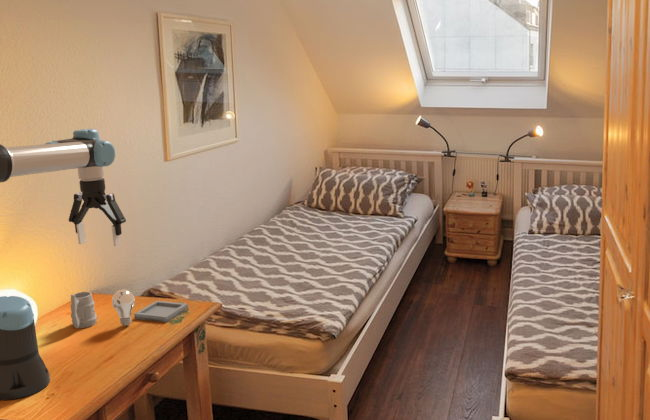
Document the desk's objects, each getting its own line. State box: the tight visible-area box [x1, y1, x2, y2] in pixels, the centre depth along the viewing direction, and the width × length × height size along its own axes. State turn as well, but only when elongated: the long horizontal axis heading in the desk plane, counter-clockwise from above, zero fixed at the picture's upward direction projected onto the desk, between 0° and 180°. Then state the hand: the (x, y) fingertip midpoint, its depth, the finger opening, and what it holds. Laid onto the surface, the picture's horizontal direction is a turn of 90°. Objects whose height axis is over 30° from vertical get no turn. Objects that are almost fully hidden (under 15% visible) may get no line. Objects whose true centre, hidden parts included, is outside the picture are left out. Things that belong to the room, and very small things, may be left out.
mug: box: [70, 291, 98, 329], centre depth 221 cm, size 8×12×12 cm, turn 177°
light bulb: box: [111, 289, 136, 327], centre depth 219 cm, size 7×7×12 cm
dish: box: [133, 300, 189, 323], centre depth 229 cm, size 12×12×2 cm
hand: (99, 244), depth 223 cm, fingers open, 13 cm apart
